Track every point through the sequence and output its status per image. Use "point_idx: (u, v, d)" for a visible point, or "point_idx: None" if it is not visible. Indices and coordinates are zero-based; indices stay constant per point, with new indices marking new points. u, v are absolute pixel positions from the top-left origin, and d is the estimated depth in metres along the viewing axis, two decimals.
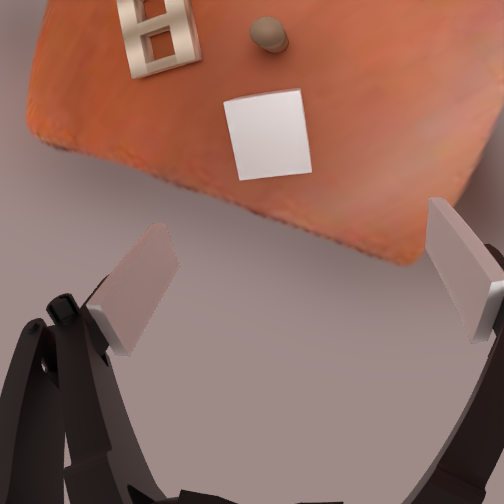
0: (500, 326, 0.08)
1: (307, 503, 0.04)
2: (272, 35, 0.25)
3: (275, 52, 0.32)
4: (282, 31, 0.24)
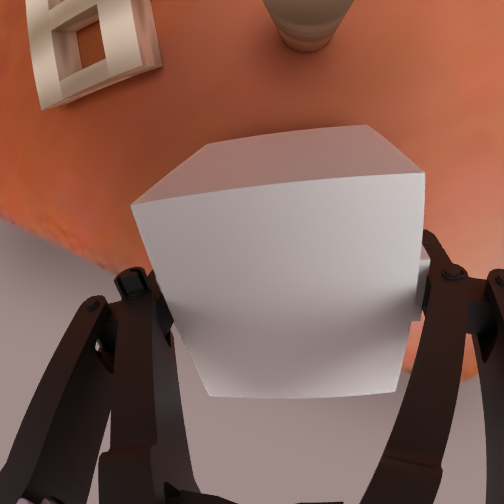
0: (426, 308, 0.09)
1: (307, 503, 0.04)
2: None
3: (308, 49, 0.15)
4: None
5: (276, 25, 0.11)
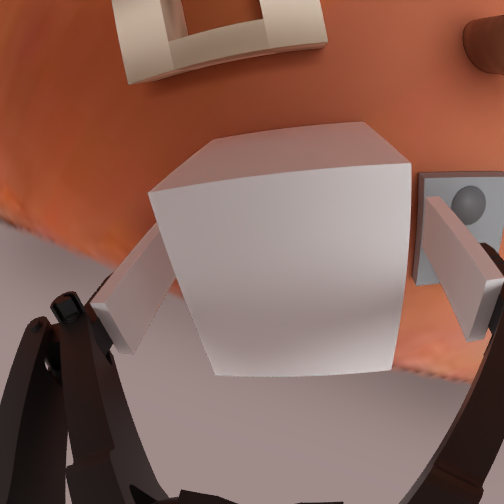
0: (496, 324, 0.08)
1: (307, 503, 0.04)
2: None
3: (503, 74, 0.10)
4: None
5: None
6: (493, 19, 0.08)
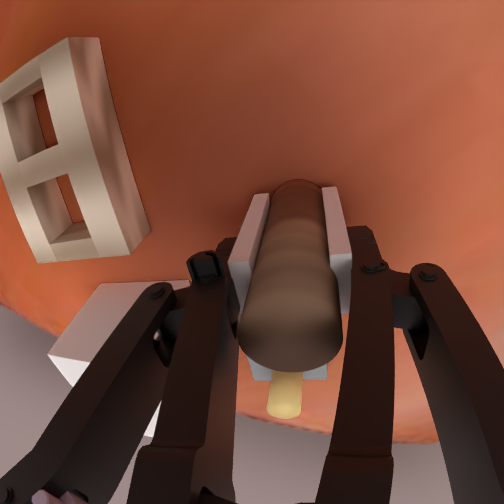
0: None
1: (307, 503, 0.04)
2: (306, 351, 0.09)
3: None
4: (337, 344, 0.09)
5: None
6: (272, 209, 0.15)
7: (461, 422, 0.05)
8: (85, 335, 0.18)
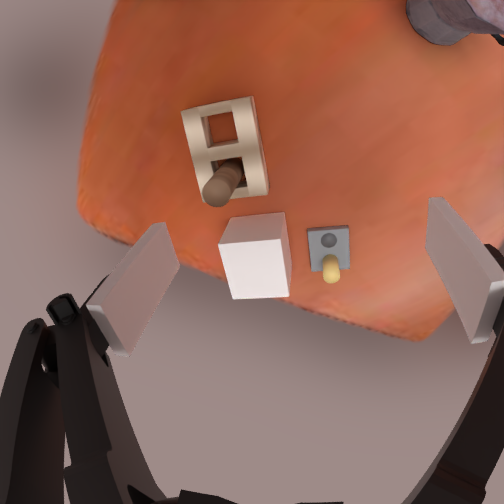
0: (500, 326, 0.08)
1: (307, 503, 0.04)
2: (220, 197, 0.35)
3: None
4: (228, 194, 0.35)
5: None
6: None
7: None
8: (238, 234, 0.42)
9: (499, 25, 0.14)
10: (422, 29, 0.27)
